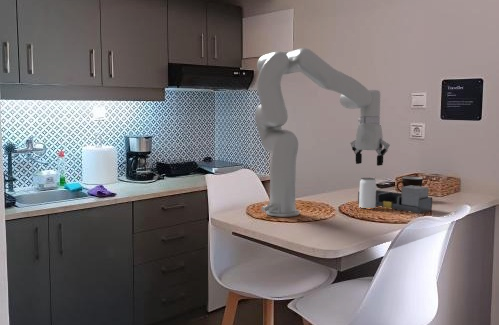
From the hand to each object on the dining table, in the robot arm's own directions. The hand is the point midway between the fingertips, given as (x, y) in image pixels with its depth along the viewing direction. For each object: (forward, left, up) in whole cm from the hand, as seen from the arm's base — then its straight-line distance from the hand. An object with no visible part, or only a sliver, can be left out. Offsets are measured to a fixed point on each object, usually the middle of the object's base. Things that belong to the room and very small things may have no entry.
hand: (369, 164), depth 199 cm
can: (0, 0, -18) cm, 18 cm away
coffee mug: (+29, -2, -18) cm, 34 cm away
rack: (+10, -6, -18) cm, 21 cm away
